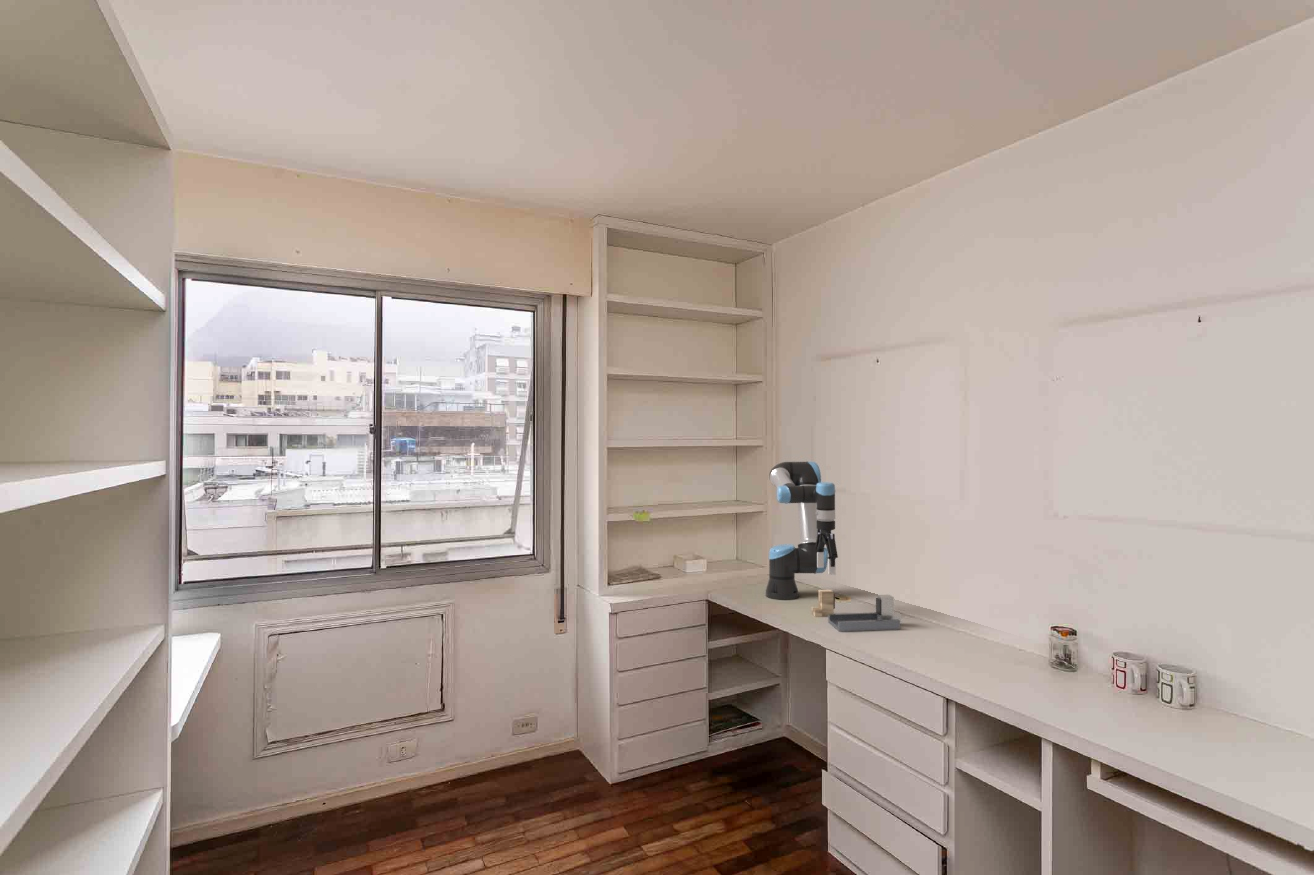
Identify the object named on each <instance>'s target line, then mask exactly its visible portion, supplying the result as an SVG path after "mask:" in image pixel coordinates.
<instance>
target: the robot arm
mask: <svg viewBox="0 0 1314 875" xmlns="http://www.w3.org/2000/svg"><path fill="white" fill-rule="evenodd" d="M768 478H769V481H770V483H771V484H772V485H773V486H774V487H776V498H777V502H778V503H780V504H797V508H798V519H799V520H798V522H799V524H798V525H799V533H800V534H799V536H800V541H799V542H798V544H797V547H795V545H794V544H779V545H778V544H777V545H773V546H772V547H771V548H769V551H768V552H769V553H768V565H769V566H768V569H769V570H768V571H769V575H768V578H769V579H768V581H767V586H766V587H765V588H766V589H765V596H766V597H767V598H770V599H773V600H774V599H775V600H782V601H783V600H786V601H787V600H795V599H797V598H799V597H800V596H799V593H800V592H799V589H798V585H797V583H796V576H795V575H796V574H814V575H816V574H823V573H824V572H826V569H827V567H828V574H827V575H829V576H830V575H831V576H832V575H833V576H835V575H836V559H837V558H839V555H838V550H837V545H836V543H837V542H836V538H835V533H832V531H835V529H836V521H835V519H836V486H835V485H836V484H835V483H833V482H824V481H822V475H821V470H820V467H819V465H818V463H816V462H815V461H807V460H806V461H783V462H780V463H778V464H776V465H774V466H773V467H772V468H771V470H769V475H768Z"/></svg>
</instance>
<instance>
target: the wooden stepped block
mask: <svg viewBox="0 0 1314 875" xmlns="http://www.w3.org/2000/svg"><path fill="white" fill-rule="evenodd" d="M835 602H836V596H835V592H834V591H833V590H832V589H818V606H811V615H812V616H814V617H815V618H817V617H818V618H820V617H821V618H822V617H828V614H835V611H834V609H836V603H835Z"/></svg>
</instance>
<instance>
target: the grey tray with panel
mask: <svg viewBox="0 0 1314 875" xmlns="http://www.w3.org/2000/svg"><path fill="white" fill-rule="evenodd" d="M827 619H828V620H827V623H828V624H829V625H831V626H832V627H833V628H834V629H835V630H837V631H838V632H839V633H842V632H843V633H844V632H870V631H871V632H873V631H894V630H895V631H896V630H900V629H901V623H902V614H901V613H899V612H898V611H895V598H894V596H892V595H891V594H877V595H876V597H875V612H849V613H848V612H847V613H846V612H845V613H843V612H842V613H834V614H828V616H827Z"/></svg>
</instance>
